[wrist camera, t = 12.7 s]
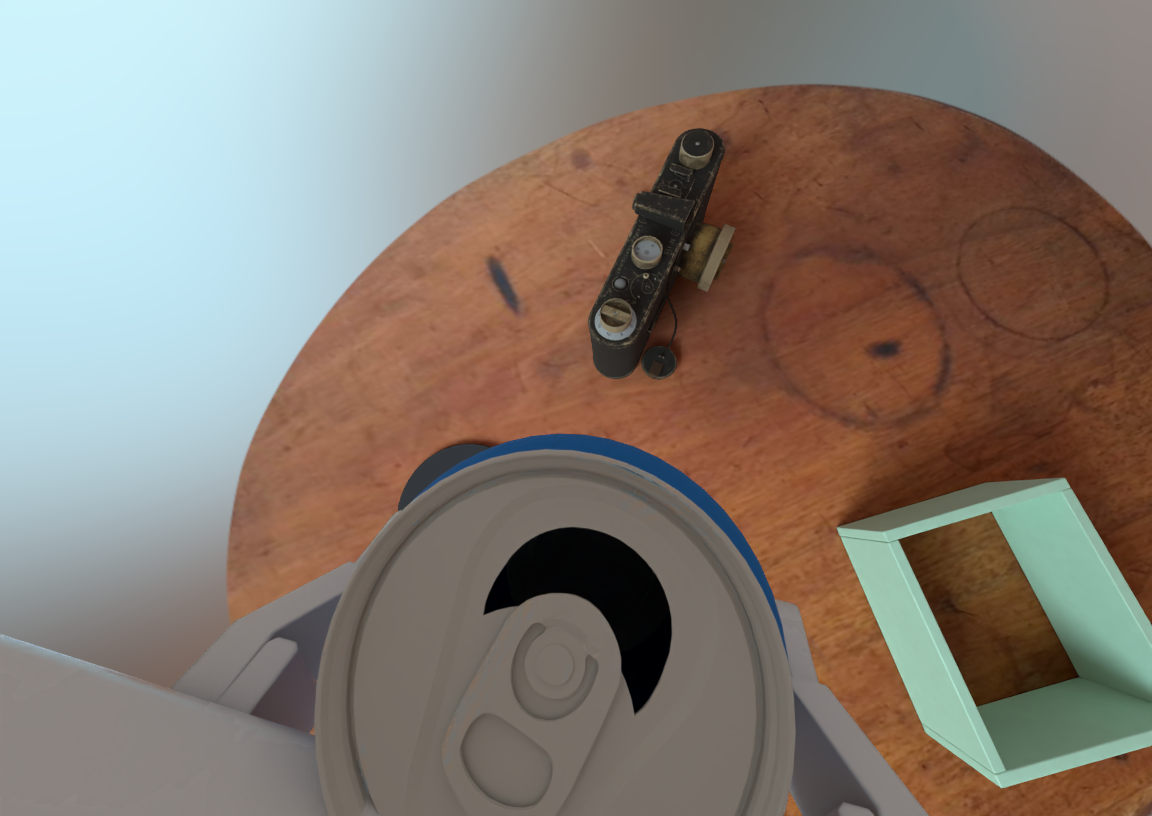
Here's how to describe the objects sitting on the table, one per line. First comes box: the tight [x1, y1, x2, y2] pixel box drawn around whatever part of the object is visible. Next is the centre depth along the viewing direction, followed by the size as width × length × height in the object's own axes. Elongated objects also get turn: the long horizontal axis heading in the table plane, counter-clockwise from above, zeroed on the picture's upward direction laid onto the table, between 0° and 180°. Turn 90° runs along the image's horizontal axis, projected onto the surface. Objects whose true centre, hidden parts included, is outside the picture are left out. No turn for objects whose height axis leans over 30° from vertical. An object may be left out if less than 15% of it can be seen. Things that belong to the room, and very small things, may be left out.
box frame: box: [837, 478, 1152, 788], centre depth 24 cm, size 12×10×5 cm
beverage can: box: [314, 434, 796, 816], centre depth 11 cm, size 6×6×12 cm
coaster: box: [398, 444, 491, 511], centre depth 30 cm, size 10×10×1 cm
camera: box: [588, 128, 735, 379], centre depth 29 cm, size 16×7×8 cm, turn 155°
